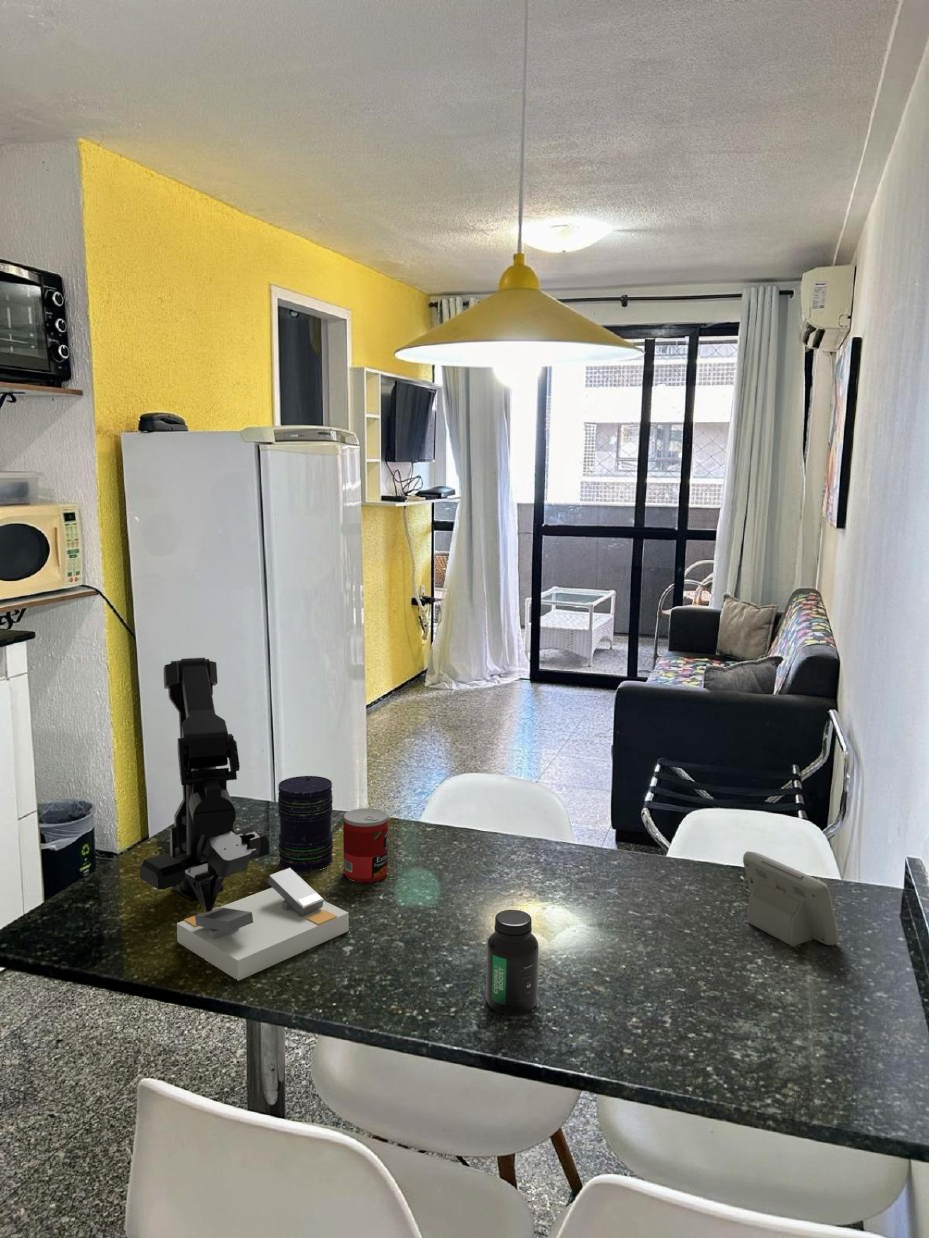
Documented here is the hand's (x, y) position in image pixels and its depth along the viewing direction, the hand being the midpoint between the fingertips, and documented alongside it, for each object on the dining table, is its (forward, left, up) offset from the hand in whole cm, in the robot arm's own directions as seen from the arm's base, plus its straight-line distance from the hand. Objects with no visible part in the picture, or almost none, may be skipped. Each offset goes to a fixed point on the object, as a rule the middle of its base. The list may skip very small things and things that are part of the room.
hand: (207, 910), depth 134 cm
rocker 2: (+4, +13, 0) cm, 14 cm away
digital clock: (+62, +65, -5) cm, 90 cm away
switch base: (+4, +7, -5) cm, 10 cm away
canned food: (-2, +33, -5) cm, 33 cm away
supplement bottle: (+43, +19, -5) cm, 48 cm away
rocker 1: (+4, 0, 0) cm, 4 cm away
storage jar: (-14, +29, -5) cm, 32 cm away
